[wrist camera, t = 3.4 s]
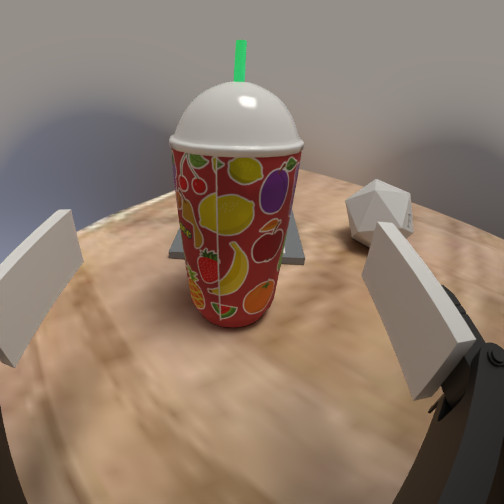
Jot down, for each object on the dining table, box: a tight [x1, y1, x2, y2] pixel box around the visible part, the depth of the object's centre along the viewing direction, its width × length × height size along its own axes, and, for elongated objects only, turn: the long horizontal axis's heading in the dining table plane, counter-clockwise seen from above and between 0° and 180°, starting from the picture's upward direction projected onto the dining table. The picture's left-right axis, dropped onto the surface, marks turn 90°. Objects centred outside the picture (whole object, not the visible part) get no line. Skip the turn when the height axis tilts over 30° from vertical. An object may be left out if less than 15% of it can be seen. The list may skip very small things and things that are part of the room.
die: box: [345, 179, 414, 248], centre depth 33 cm, size 8×9×10 cm
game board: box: [169, 209, 305, 265], centre depth 39 cm, size 14×21×1 cm, turn 0°
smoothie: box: [169, 40, 304, 328], centre depth 19 cm, size 8×8×20 cm
